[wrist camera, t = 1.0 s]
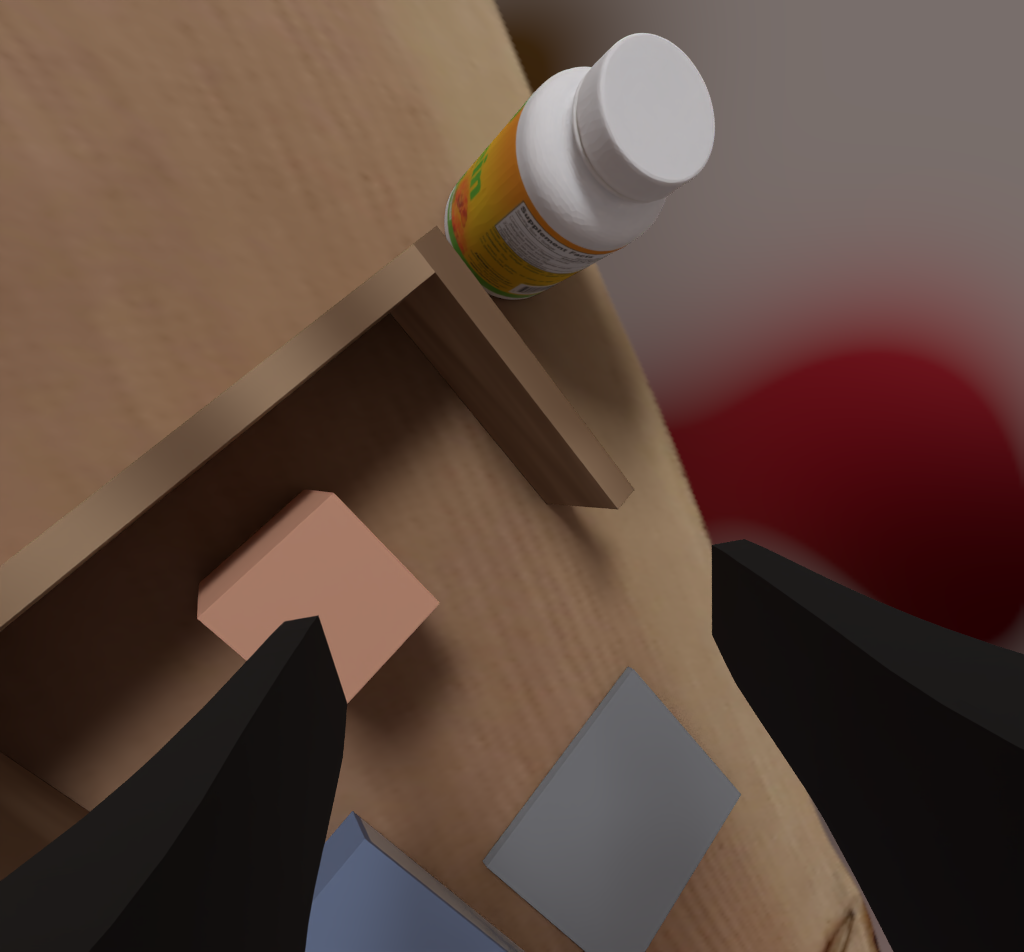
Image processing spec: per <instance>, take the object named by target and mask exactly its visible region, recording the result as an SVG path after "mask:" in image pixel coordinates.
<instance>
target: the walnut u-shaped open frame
mask: <svg viewBox="0 0 1024 952" xmlns="http://www.w3.org/2000/svg"><path fill="white" fill-rule="evenodd" d="M389 313H391V315H392V316H393V317H394V318H395V319H396V321H397V322H398V323H399V324H400V326H401V327H402V328H403V329H404V330H405V332H406V333H407V334H408V335H409V337H410V338H411V339H412V340H413V341H414V343H415V344H416V345H417V346H418V348H419V349H420V350H421V351H422V352H423V354H424V355H425V356H426V357H427V358H428V360H429V361H430V362H431V363H432V365H433V366H434V367H435V368H436V369H437V371H438V372H439V373H440V374H441V376H442V377H443V378H444V379H445V380H446V382H447V383H448V384H449V385H450V387H451V388H452V389H453V390H454V391H455V393H456V394H457V395H458V396H459V398H460V399H461V400H462V401H463V402H464V404H465V405H466V406H467V407H468V408H469V410H470V411H471V412H472V413H473V415H474V416H475V417H476V418H477V419H478V421H479V422H480V423H481V424H482V426H483V427H484V428H485V429H486V430H487V432H488V433H489V434H490V435H491V437H492V438H493V439H494V440H495V441H496V443H497V444H498V445H499V446H500V448H501V449H502V450H503V451H504V452H505V454H506V455H507V456H508V457H509V458H510V460H511V461H512V462H513V463H514V465H515V466H516V467H517V468H518V469H519V471H520V472H521V473H522V474H523V476H524V477H525V478H526V479H527V480H528V482H529V483H530V484H531V485H532V487H533V488H534V489H535V490H536V491H537V493H538V494H539V495H540V496H541V498H542V499H543V500H544V501H545V502H546V504H557V505H570V506H583V507H596V508H608V509H619V508H620V506H621V505H622V504H623V503H624V502H625V501H626V499H627V498H628V497H629V496H630V495H631V493H632V492H633V491H634V488H633V487H632V486H631V484H630V483H629V482H628V480H627V479H626V478H625V476H624V475H623V474H622V472H621V471H620V470H619V468H618V467H617V466H616V464H615V463H614V462H613V460H612V459H611V458H610V456H609V455H608V454H607V452H606V451H605V450H604V448H603V447H602V446H601V444H600V443H599V442H598V440H597V439H596V438H595V436H594V435H593V434H592V432H591V431H590V430H589V428H588V427H587V426H586V424H585V423H584V422H583V420H582V419H581V418H580V416H579V415H578V414H577V412H576V411H575V410H574V408H573V407H572V406H571V404H570V403H569V402H568V400H567V399H566V398H565V396H564V395H563V393H562V392H561V391H560V389H559V388H558V387H557V385H556V384H555V383H554V381H553V380H552V379H551V377H550V376H549V375H548V373H547V372H546V371H545V369H544V368H543V367H542V365H541V364H540V363H539V361H538V360H537V359H536V357H535V356H534V355H533V353H532V352H531V351H530V349H529V348H528V347H527V345H526V344H525V343H524V341H523V340H522V339H521V337H520V336H519V335H518V333H517V332H516V331H515V329H514V328H513V327H512V325H511V324H510V323H509V321H508V320H507V319H506V317H505V316H504V315H503V313H502V312H501V311H500V309H499V308H498V307H497V305H496V304H495V303H494V301H493V300H492V299H491V297H490V296H489V295H488V293H487V292H486V291H485V289H484V288H483V287H482V285H481V284H480V283H479V281H478V280H477V279H476V277H475V276H474V275H473V273H472V272H471V271H470V269H469V268H468V267H467V265H466V264H465V263H464V261H463V260H462V259H461V257H460V256H459V255H458V253H457V252H456V251H455V249H454V248H453V247H452V245H451V244H450V243H449V241H448V240H447V239H446V237H445V236H444V235H443V233H442V232H441V231H440V229H439V228H438V227H437V226H436V227H434V228H433V229H432V230H431V231H429V232H428V233H427V234H425V235H424V236H423V237H422V238H420V239H419V240H418V241H417V242H415V243H414V244H413V245H411V246H410V247H409V248H408V249H406V250H405V251H404V252H402V253H401V254H400V255H399V256H397V257H396V258H395V259H393V260H392V261H391V262H390V263H388V264H387V265H386V266H384V267H383V268H382V269H381V270H379V271H378V272H377V273H375V274H374V275H373V276H372V277H370V278H369V279H368V280H367V281H365V282H364V283H363V284H361V285H360V286H359V287H358V288H356V289H355V290H354V291H352V292H351V293H350V294H349V295H347V296H346V297H345V298H343V299H342V300H341V301H340V302H338V303H337V304H336V305H334V306H333V307H332V308H331V309H329V310H328V311H327V312H326V313H324V314H323V315H322V316H320V317H319V318H318V319H317V320H315V321H314V322H313V323H311V324H310V325H309V326H308V327H306V328H305V329H304V330H302V331H301V332H300V333H299V334H297V335H296V336H295V337H293V338H292V339H291V340H290V341H288V342H287V343H286V344H284V345H283V346H282V347H281V348H279V349H278V350H277V351H276V352H274V353H273V354H272V355H270V356H269V357H268V358H267V359H265V360H264V361H263V362H261V363H260V364H259V365H258V366H256V367H255V368H254V369H252V370H251V371H250V372H249V373H247V374H246V375H245V376H243V377H242V378H241V379H240V380H238V381H237V382H236V383H234V384H233V385H232V386H231V387H229V388H228V389H227V390H226V391H224V392H223V393H222V394H220V395H219V396H218V397H217V398H215V399H214V400H213V401H211V402H210V403H209V404H208V405H206V406H205V407H204V408H202V409H201V410H200V411H199V412H197V413H196V414H195V415H193V416H192V417H191V418H190V419H188V420H187V421H186V422H185V423H183V424H182V425H181V426H179V427H178V428H177V429H176V430H174V431H173V432H172V433H170V434H169V435H168V436H167V437H165V438H164V439H163V440H161V441H160V442H159V443H158V444H156V445H155V446H154V447H152V448H151V449H150V450H149V451H147V452H146V453H145V454H143V455H142V456H141V457H140V458H138V459H137V460H136V461H135V462H133V463H132V464H131V465H129V466H128V467H127V468H126V469H124V470H123V471H122V472H120V473H119V474H118V475H117V476H115V477H114V478H113V479H111V480H110V481H109V482H108V483H106V484H105V485H104V486H102V487H101V488H100V489H99V490H97V491H96V492H95V493H94V494H92V495H91V496H90V497H88V498H87V499H86V500H85V501H83V502H82V503H81V504H79V505H78V506H77V507H76V508H74V509H73V510H72V511H70V512H69V513H68V514H67V515H65V516H64V517H63V518H61V519H60V520H59V521H58V522H56V523H55V524H54V525H52V526H51V527H50V528H49V529H47V530H46V531H45V532H44V533H42V534H41V535H40V536H38V537H37V538H36V539H35V540H33V541H32V542H31V543H29V544H28V545H27V546H26V547H24V548H23V549H22V550H20V551H19V552H18V553H17V554H15V555H14V556H13V557H11V558H10V559H9V560H8V561H6V562H5V563H4V564H2V565H1V566H0V632H1V631H2V630H3V629H4V628H5V627H7V626H8V625H9V624H10V623H12V622H13V621H14V620H15V619H16V618H18V617H19V616H20V615H21V614H23V613H24V612H25V611H26V610H27V609H29V608H30V607H31V606H32V605H34V604H35V603H36V602H37V601H38V600H40V599H41V598H42V597H43V596H45V595H46V594H47V593H48V592H49V591H51V590H52V589H53V588H54V587H56V586H57V585H58V584H59V583H60V582H62V581H63V580H64V579H65V578H67V577H68V576H69V575H70V574H71V573H73V572H74V571H75V570H76V569H78V568H79V567H80V566H81V565H82V564H84V563H85V562H86V561H87V560H89V559H90V558H91V557H92V556H93V555H95V554H96V553H97V552H98V551H99V550H101V549H102V548H103V547H104V546H106V545H107V544H108V543H109V542H110V541H112V540H113V539H114V538H115V537H117V536H118V535H119V534H120V533H121V532H123V531H124V530H125V529H126V528H128V527H129V526H130V525H131V524H132V523H134V522H135V521H136V520H137V519H139V518H140V517H141V516H142V515H143V514H145V513H146V512H147V511H148V510H150V509H151V508H152V507H153V506H154V505H156V504H157V503H158V502H159V501H161V500H162V499H163V498H164V497H165V496H167V495H168V494H169V493H170V492H172V491H173V490H174V489H175V488H176V487H178V486H179V485H180V484H181V483H183V482H184V481H185V480H186V479H187V478H189V477H190V476H191V475H192V474H194V473H195V472H196V471H197V470H198V469H200V468H201V467H202V466H203V465H204V464H206V463H207V462H208V461H209V460H211V459H212V458H213V457H214V456H215V455H217V454H218V453H219V452H220V451H222V450H223V449H224V448H225V447H226V446H228V445H229V444H230V443H231V442H233V441H234V440H235V439H236V438H237V437H239V436H240V435H241V434H242V433H244V432H245V431H246V430H247V429H248V428H250V427H251V426H252V425H253V424H255V423H256V422H257V421H258V420H259V419H261V418H262V417H263V416H264V415H266V414H267V413H268V412H269V411H270V410H272V409H273V408H274V407H275V406H277V405H278V404H279V403H280V402H281V401H283V400H284V399H285V398H286V397H288V396H289V395H290V394H291V393H292V392H294V391H295V390H296V389H297V388H298V387H300V386H301V385H302V384H303V383H305V382H306V381H307V380H308V379H309V378H311V377H312V376H313V375H314V374H316V373H317V372H318V371H319V370H320V369H322V368H323V367H324V366H325V365H327V364H328V363H329V362H330V361H331V360H333V359H334V358H335V357H336V356H338V355H339V354H340V353H341V352H342V351H344V350H345V349H346V348H347V347H349V346H350V345H351V344H352V343H353V342H355V341H356V340H357V339H358V338H360V337H361V336H362V335H363V334H364V333H366V332H367V331H368V330H369V329H371V328H372V327H373V326H374V325H375V324H377V323H378V322H379V321H380V320H382V319H383V318H384V317H385V316H386V315H388V314H389ZM88 813H89V812H88V811H87V810H85V809H84V808H82V807H81V806H79V805H78V804H76V803H75V802H73V801H72V800H70V799H69V798H67V797H66V796H65V795H63V794H62V793H60V792H59V791H57V790H56V789H54V788H53V787H51V786H50V785H48V784H47V783H45V782H44V781H42V780H41V779H40V778H38V777H37V776H35V775H34V774H32V773H31V772H29V771H28V770H26V769H25V768H23V767H22V766H20V765H19V764H17V763H16V762H14V761H13V760H12V759H10V758H9V757H7V756H6V755H4V754H3V753H1V752H0V881H1V880H2V879H4V878H5V877H7V876H8V875H9V874H10V873H12V872H13V871H14V870H16V869H17V868H18V867H20V866H21V865H22V864H24V863H25V862H26V861H27V860H29V859H30V858H31V857H33V856H34V855H35V854H37V853H38V852H39V851H41V850H42V849H43V848H44V847H46V846H47V845H48V844H50V843H51V842H52V841H54V840H55V839H56V838H57V837H59V836H60V835H61V834H63V833H64V832H65V831H67V830H68V829H69V828H71V827H72V826H73V825H74V824H76V823H77V822H78V821H79V820H81V819H82V818H83V817H84V816H86V815H87V814H88Z"/></svg>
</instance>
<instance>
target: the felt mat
mask: <svg viewBox="0 0 1024 952" xmlns="http://www.w3.org/2000/svg"><path fill="white" fill-rule="evenodd" d="M740 795H741V794H740V793H739V791H738V790H737V789H736V788H735V787H734V786H733V784H732V783H731V782H730V781H729V780H728V779H727V777H726V776H725V775H724V774H723V773H722V772H721V770H720V769H719V768H718V767H717V766H716V765H715V763H714V762H713V761H712V760H711V759H710V758H709V756H708V755H707V754H706V753H705V752H704V751H703V750H702V748H701V747H700V746H699V745H698V744H697V743H696V741H695V740H694V739H693V738H692V737H691V736H690V734H689V733H688V732H687V731H686V730H685V729H684V727H683V726H682V725H681V724H680V723H679V722H678V720H677V719H676V718H675V717H674V716H673V715H672V713H671V712H670V711H669V710H668V709H667V708H666V706H665V705H664V704H663V703H662V702H661V701H660V699H659V698H658V697H657V696H656V695H655V694H654V693H653V691H652V690H651V689H650V688H649V687H648V686H647V684H646V683H645V682H644V681H643V680H642V679H641V677H640V676H639V675H638V674H637V673H636V672H635V670H634V669H632V668H630V667H627V669H626V670H625V671H624V673H623V674H622V675H621V677H620V678H619V679H618V681H617V682H616V683H615V685H614V686H613V687H612V689H611V690H610V691H609V693H608V694H607V695H606V697H605V698H604V699H603V701H602V702H601V703H600V705H599V706H598V707H597V709H596V710H595V711H594V713H593V714H592V715H591V717H590V718H589V719H588V721H587V722H586V723H585V725H584V726H583V727H582V729H581V730H580V731H579V733H578V734H577V735H576V737H575V738H574V739H573V741H572V742H571V744H570V745H569V746H568V748H567V749H566V750H565V752H564V753H563V754H562V756H561V757H560V758H559V760H558V761H557V762H556V764H555V765H554V766H553V768H552V769H551V770H550V772H549V773H548V774H547V776H546V777H545V778H544V780H543V781H542V782H541V784H540V785H539V786H538V788H537V789H536V790H535V792H534V793H533V794H532V796H531V797H530V798H529V800H528V801H527V802H526V804H525V805H524V806H523V808H522V809H521V810H520V812H519V813H518V814H517V816H516V817H515V818H514V820H513V821H512V823H511V824H510V825H509V827H508V828H507V829H506V831H505V832H504V833H503V835H502V836H501V837H500V839H499V840H498V841H497V843H496V844H495V845H494V847H493V848H492V849H491V851H490V852H489V853H488V855H487V856H486V857H485V859H484V860H483V863H484V864H485V865H486V867H487V868H488V869H490V870H491V871H492V872H493V873H494V874H495V875H497V876H498V877H499V878H500V879H501V880H502V881H504V882H505V883H506V884H507V885H508V886H509V887H511V888H512V889H513V890H514V891H515V892H516V893H518V894H519V895H520V896H521V897H522V898H523V899H525V900H526V901H527V902H528V903H529V904H530V905H532V906H533V907H534V908H535V909H536V910H537V911H539V912H540V913H541V914H542V915H543V916H544V917H546V918H547V919H548V920H549V921H550V922H551V923H553V924H554V925H555V926H556V927H557V928H558V929H560V930H561V931H562V932H563V933H564V934H565V935H567V936H568V937H569V938H570V939H571V940H572V941H574V942H575V943H576V944H577V945H578V946H579V947H581V948H582V949H583V950H584V951H585V952H645V951H646V949H647V948H648V946H649V944H650V943H651V941H652V939H653V938H654V936H655V934H656V933H657V931H658V930H659V928H660V926H661V925H662V923H663V921H664V920H665V918H666V916H667V915H668V913H669V912H670V910H671V908H672V907H673V905H674V903H675V902H676V900H677V899H678V897H679V895H680V894H681V892H682V890H683V889H684V887H685V885H686V884H687V882H688V881H689V879H690V877H691V876H692V874H693V872H694V871H695V869H696V867H697V866H698V864H699V863H700V861H701V859H702V858H703V856H704V854H705V853H706V851H707V849H708V848H709V846H710V845H711V843H712V841H713V840H714V838H715V836H716V835H717V833H718V831H719V830H720V828H721V827H722V825H723V823H724V822H725V820H726V818H727V817H728V815H729V813H730V812H731V810H732V809H733V807H734V805H735V804H736V802H737V800H738V799H739V797H740Z"/></svg>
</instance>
